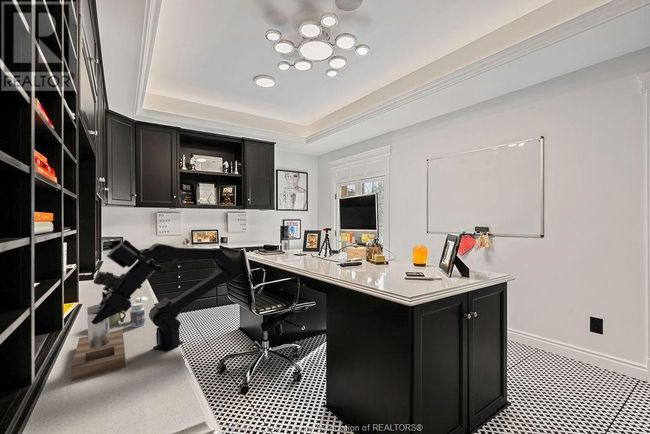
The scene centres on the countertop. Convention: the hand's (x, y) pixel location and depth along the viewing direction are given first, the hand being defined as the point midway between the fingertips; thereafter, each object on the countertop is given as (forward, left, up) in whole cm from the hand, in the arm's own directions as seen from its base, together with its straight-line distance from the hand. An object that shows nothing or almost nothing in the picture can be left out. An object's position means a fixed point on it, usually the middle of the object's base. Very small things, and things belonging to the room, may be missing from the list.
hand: (92, 320), depth 90 cm
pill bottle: (+18, -29, -13) cm, 36 cm away
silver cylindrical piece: (-1, -1, -7) cm, 7 cm away
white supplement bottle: (+23, -35, -13) cm, 43 cm away
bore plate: (+4, -5, -13) cm, 15 cm away
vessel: (+29, -25, -13) cm, 40 cm away
